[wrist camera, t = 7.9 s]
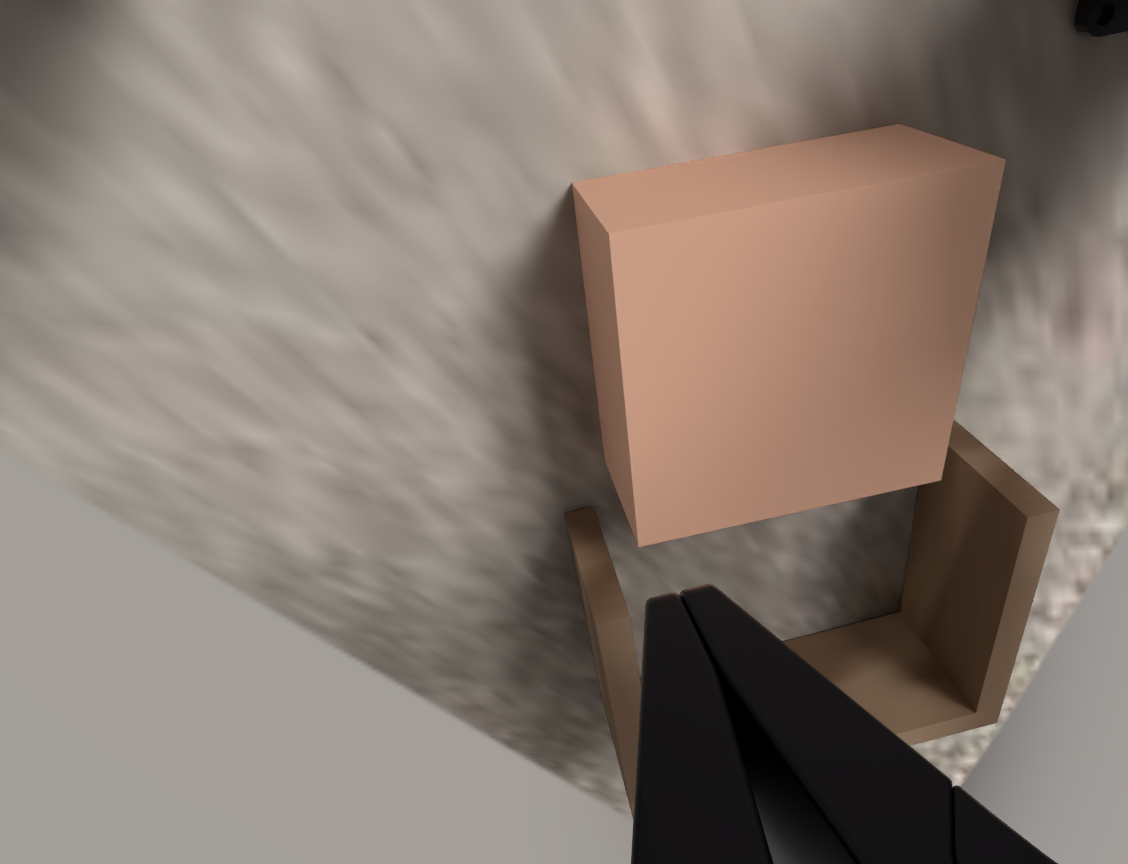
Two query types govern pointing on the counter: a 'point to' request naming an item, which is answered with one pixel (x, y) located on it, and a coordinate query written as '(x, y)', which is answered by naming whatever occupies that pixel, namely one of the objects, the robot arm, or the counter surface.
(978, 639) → the walnut stall
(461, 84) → the counter surface
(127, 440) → the counter surface
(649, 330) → the terracotta block
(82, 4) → the counter surface
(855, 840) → the robot arm
